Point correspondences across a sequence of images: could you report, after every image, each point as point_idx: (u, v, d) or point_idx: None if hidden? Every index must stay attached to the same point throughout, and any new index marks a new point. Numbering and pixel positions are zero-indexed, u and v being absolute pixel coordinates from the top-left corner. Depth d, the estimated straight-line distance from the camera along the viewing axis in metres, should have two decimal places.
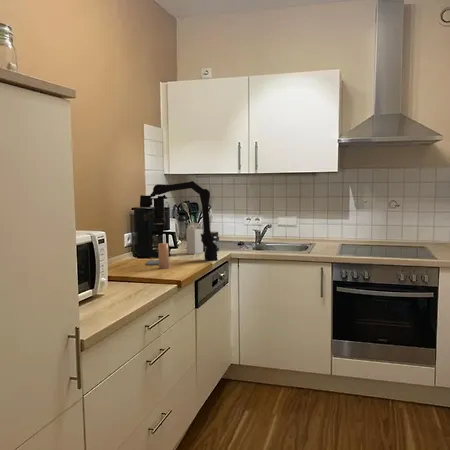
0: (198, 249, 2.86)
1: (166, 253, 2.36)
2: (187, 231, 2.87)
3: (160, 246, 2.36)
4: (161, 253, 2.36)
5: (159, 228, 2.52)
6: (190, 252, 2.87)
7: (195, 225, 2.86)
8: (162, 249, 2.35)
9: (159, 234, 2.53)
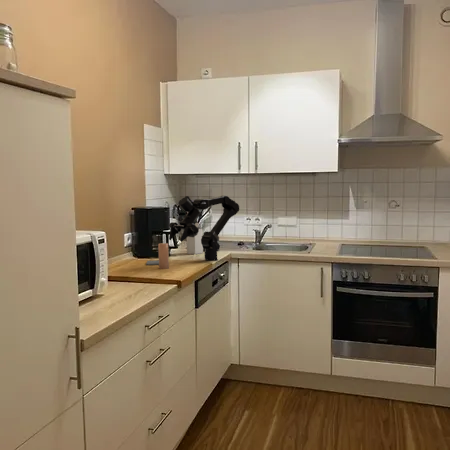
0: (198, 249, 2.86)
1: (166, 253, 2.36)
2: None
3: (160, 246, 2.36)
4: (161, 253, 2.36)
5: None
6: (190, 252, 2.87)
7: None
8: (162, 249, 2.35)
9: None
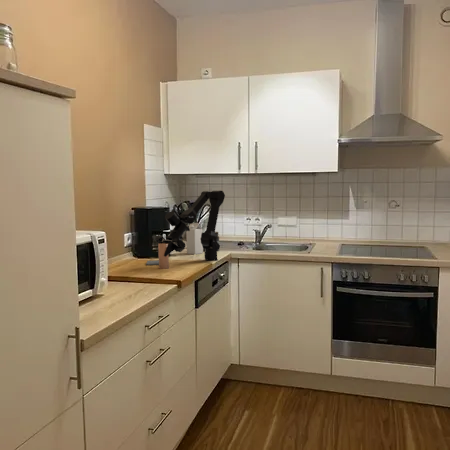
0: (198, 249, 2.86)
1: None
2: (187, 231, 2.87)
3: (160, 246, 2.36)
4: (161, 253, 2.36)
5: None
6: (190, 252, 2.87)
7: (195, 225, 2.86)
8: (162, 249, 2.35)
9: None
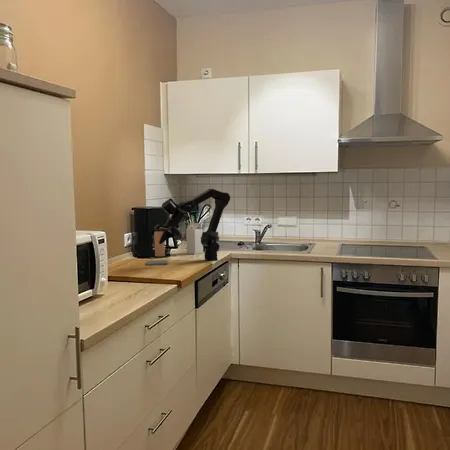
0: (198, 249, 2.86)
1: None
2: (187, 231, 2.87)
3: (155, 234, 2.40)
4: (156, 241, 2.40)
5: None
6: (190, 252, 2.87)
7: (195, 225, 2.86)
8: (157, 236, 2.39)
9: None
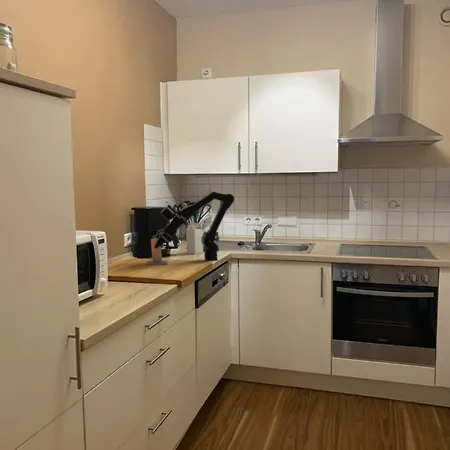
0: (198, 249, 2.86)
1: (156, 248, 2.51)
2: (187, 231, 2.87)
3: (151, 241, 2.52)
4: (152, 248, 2.52)
5: None
6: (190, 252, 2.87)
7: (195, 225, 2.86)
8: (152, 244, 2.51)
9: None
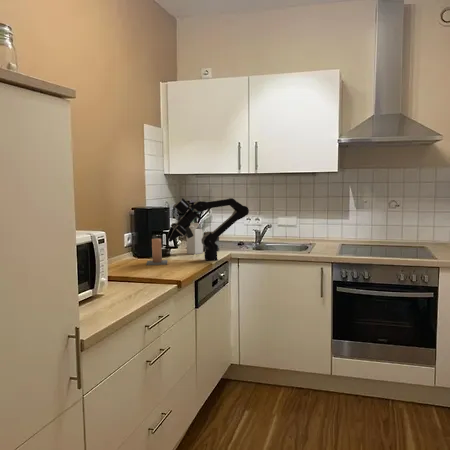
0: (198, 249, 2.86)
1: (157, 248, 2.51)
2: None
3: (152, 241, 2.52)
4: (153, 247, 2.52)
5: None
6: (190, 252, 2.87)
7: (195, 225, 2.86)
8: (153, 243, 2.51)
9: None
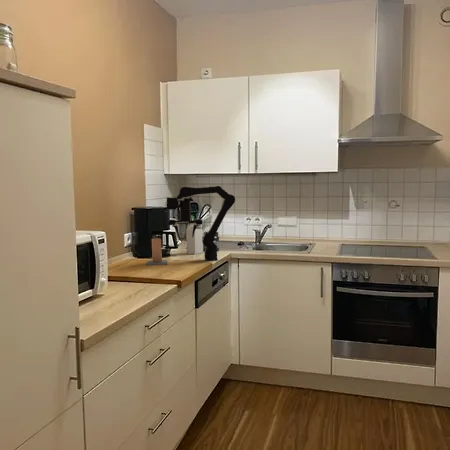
0: (198, 249, 2.86)
1: (157, 248, 2.51)
2: (187, 231, 2.87)
3: (152, 241, 2.52)
4: (152, 247, 2.52)
5: None
6: (190, 252, 2.87)
7: None
8: (153, 243, 2.51)
9: None
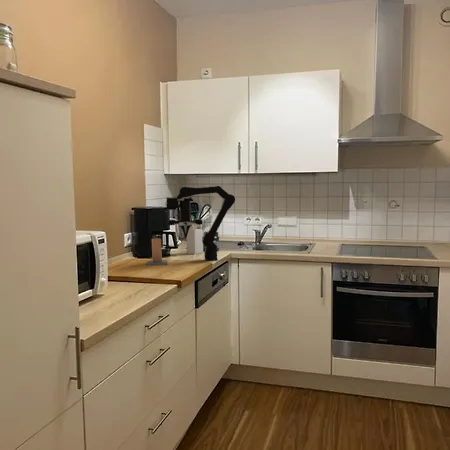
0: (198, 249, 2.86)
1: (157, 248, 2.51)
2: None
3: (152, 241, 2.52)
4: (152, 247, 2.52)
5: None
6: (190, 252, 2.87)
7: (195, 225, 2.86)
8: (153, 243, 2.51)
9: (184, 235, 2.60)
